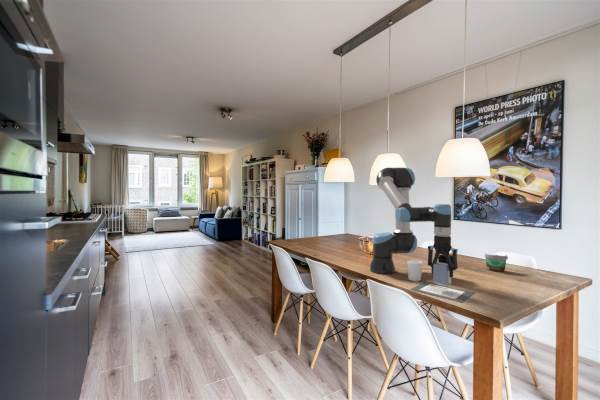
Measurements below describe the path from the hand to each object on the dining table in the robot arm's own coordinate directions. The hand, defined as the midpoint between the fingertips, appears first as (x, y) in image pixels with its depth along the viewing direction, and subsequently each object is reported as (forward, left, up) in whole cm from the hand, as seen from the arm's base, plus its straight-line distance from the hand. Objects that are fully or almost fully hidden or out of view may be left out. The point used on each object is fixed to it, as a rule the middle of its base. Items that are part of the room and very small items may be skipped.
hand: (442, 281), depth 144 cm
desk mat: (0, 0, -5) cm, 5 cm away
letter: (0, 0, -5) cm, 5 cm away
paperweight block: (0, 0, 0) cm, 0 cm away
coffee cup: (-7, +25, -5) cm, 27 cm away
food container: (+10, +61, -5) cm, 62 cm away
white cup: (-18, +9, -5) cm, 21 cm away
